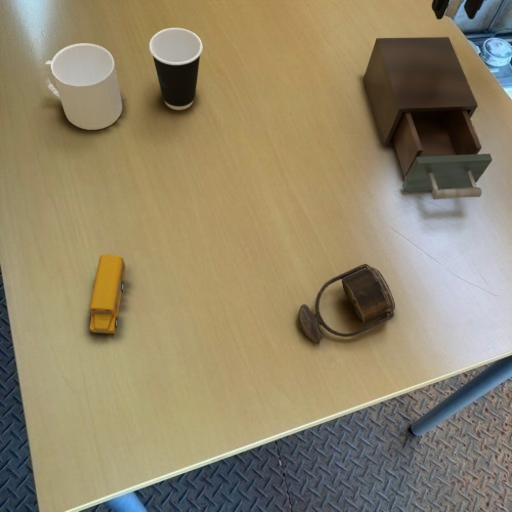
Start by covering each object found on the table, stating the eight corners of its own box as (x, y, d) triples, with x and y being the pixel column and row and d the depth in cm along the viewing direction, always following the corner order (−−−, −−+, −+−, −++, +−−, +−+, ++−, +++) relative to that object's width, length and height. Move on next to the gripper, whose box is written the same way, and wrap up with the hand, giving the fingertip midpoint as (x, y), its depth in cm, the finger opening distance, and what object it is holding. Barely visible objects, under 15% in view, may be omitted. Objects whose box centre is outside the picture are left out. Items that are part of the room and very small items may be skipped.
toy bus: (90, 334, 70) (84, 322, 67) (103, 267, 75) (99, 253, 71) (115, 336, 70) (111, 324, 67) (127, 268, 75) (123, 255, 72)
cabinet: (455, 143, 91) (478, 105, 84) (383, 146, 90) (399, 108, 82) (430, 76, 99) (448, 36, 91) (363, 78, 97) (376, 37, 90)
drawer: (482, 211, 84) (503, 184, 78) (410, 215, 82) (426, 188, 76) (446, 118, 93) (462, 88, 87) (381, 120, 91) (394, 90, 85)
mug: (133, 101, 90) (125, 56, 82) (102, 138, 86) (92, 94, 78) (70, 76, 92) (57, 29, 84) (38, 111, 87) (20, 65, 79)
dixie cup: (212, 95, 92) (212, 41, 83) (184, 124, 89) (182, 71, 79) (173, 75, 94) (169, 20, 84) (145, 103, 90) (138, 48, 80)
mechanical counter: (412, 335, 68) (403, 257, 70) (312, 335, 65) (308, 255, 68) (388, 342, 74) (381, 271, 77) (297, 343, 72) (293, 270, 75)
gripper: (560, -129, 71) (496, -3, 87) (436, -132, 69) (394, -2, 85) (582, -96, 67) (511, 29, 83) (453, -99, 66) (405, 30, 81)
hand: (452, 12), depth 84 cm, fingers closed on wristwatch, 4 cm apart
